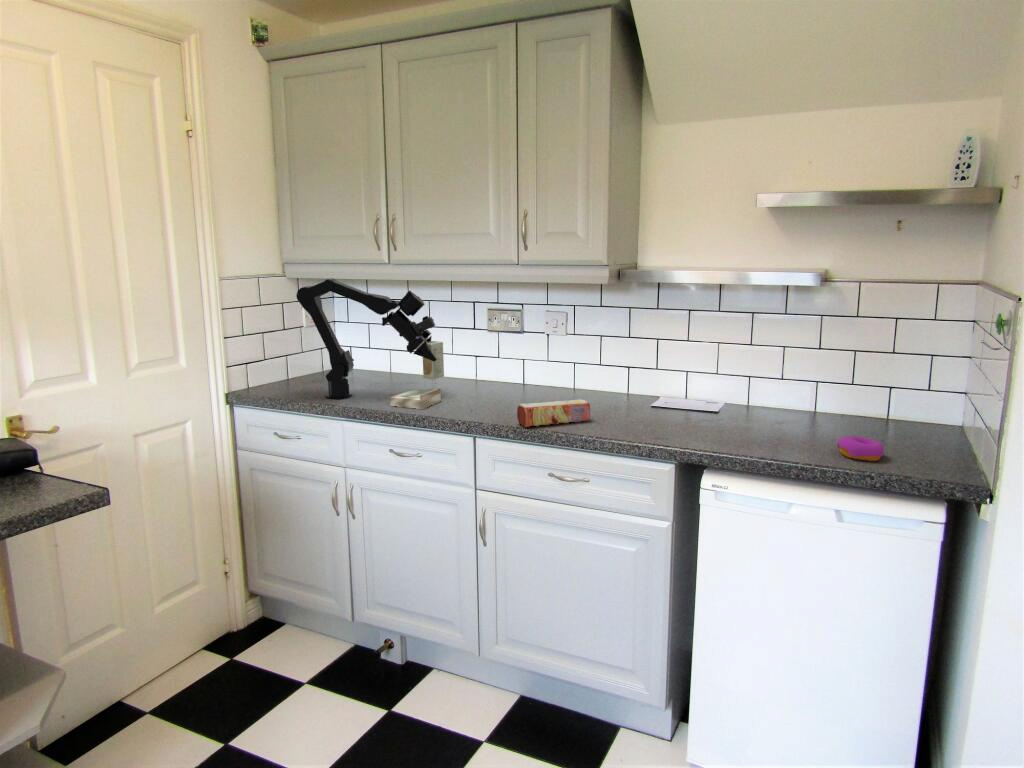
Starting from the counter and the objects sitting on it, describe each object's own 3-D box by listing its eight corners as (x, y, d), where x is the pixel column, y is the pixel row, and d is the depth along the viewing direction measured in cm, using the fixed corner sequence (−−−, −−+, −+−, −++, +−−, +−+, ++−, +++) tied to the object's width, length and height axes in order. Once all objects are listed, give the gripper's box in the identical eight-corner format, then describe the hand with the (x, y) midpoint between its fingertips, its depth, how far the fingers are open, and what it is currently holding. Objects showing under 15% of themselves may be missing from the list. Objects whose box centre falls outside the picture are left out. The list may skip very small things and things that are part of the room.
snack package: (581, 417, 210) (582, 395, 209) (591, 422, 204) (592, 400, 203) (516, 424, 203) (515, 402, 202) (524, 430, 197) (524, 407, 195)
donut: (885, 465, 164) (887, 446, 163) (837, 460, 168) (839, 442, 167) (880, 452, 174) (882, 435, 173) (835, 448, 177) (837, 431, 176)
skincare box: (435, 375, 241) (434, 340, 239) (444, 377, 239) (443, 341, 236) (422, 378, 236) (421, 342, 234) (432, 380, 234) (431, 343, 231)
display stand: (390, 406, 225) (390, 392, 224) (409, 398, 236) (408, 385, 235) (423, 409, 221) (422, 395, 220) (440, 401, 232) (440, 388, 231)
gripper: (415, 311, 224) (450, 346, 226) (424, 306, 242) (456, 338, 244) (392, 336, 225) (426, 370, 227) (402, 328, 244) (434, 360, 246)
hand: (437, 358), depth 236 cm, fingers closed on skincare box, 7 cm apart
